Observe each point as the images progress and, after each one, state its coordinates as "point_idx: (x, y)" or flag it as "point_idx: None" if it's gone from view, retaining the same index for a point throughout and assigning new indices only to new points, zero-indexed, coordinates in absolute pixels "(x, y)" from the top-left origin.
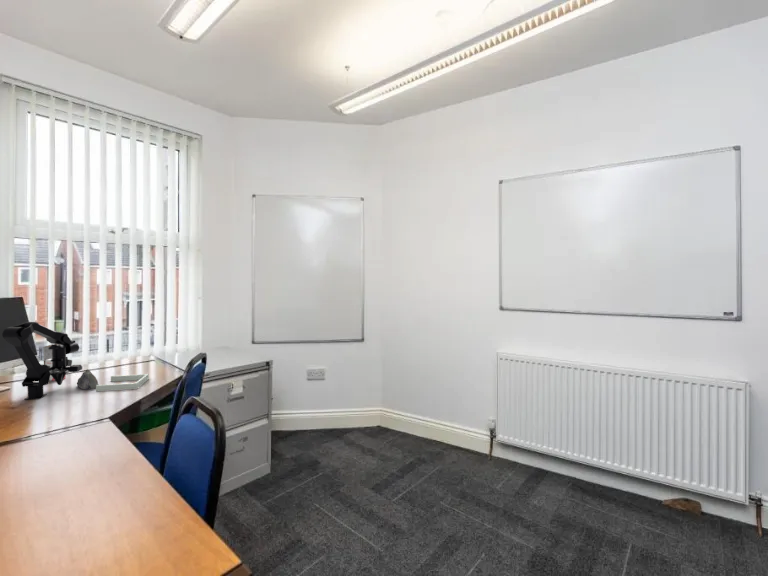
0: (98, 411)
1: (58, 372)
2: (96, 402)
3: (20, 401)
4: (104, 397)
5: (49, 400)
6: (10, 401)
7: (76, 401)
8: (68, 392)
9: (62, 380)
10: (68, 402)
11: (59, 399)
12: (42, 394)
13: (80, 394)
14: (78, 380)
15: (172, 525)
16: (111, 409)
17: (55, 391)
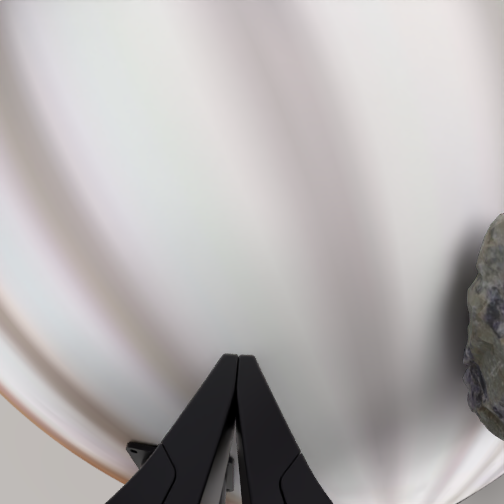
0: (448, 500)
1: None
2: (464, 480)
3: None
4: (500, 452)
5: None
6: (93, 461)
7: (414, 489)
8: (379, 431)
9: (280, 424)
10: (387, 497)
11: (346, 489)
12: (225, 489)
13: (442, 448)
14: (499, 417)
15: None
16: (472, 490)
17: None
